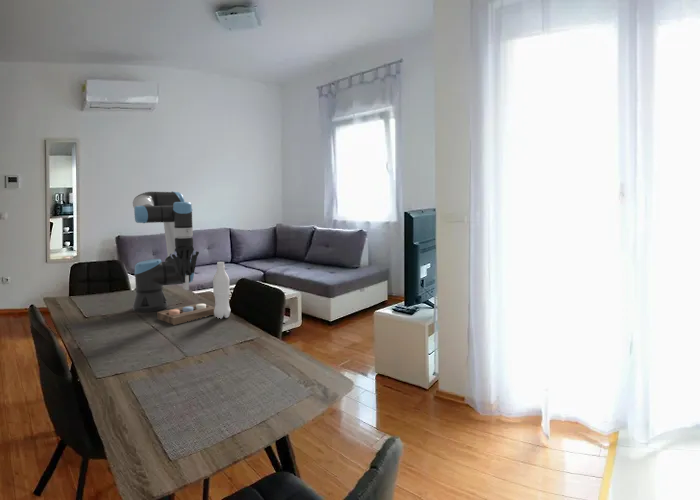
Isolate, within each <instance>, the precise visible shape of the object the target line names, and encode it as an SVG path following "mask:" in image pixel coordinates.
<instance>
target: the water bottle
mask: <svg viewBox="0 0 700 500" xmlns="http://www.w3.org/2000/svg"><path fill="white" fill-rule="evenodd" d="M216 264H217V265H216V272H215V274H214V276H213V278H212V282H213V283H212V286H213V287H212V288H213V291H212V294H213V296H214V307H215V309H214V315H213V316H214V318H216V317H217V318H216V319H219V318H220V319H219V320H222V319H223V318H225V319H228V318H229V317H230V315H231V307H230V301H229V299H230V294H231V290H230V289H231V287H230V281H231V280H230V277H229V275H228V273H227V272H226V266H225V261H217V263H216Z"/></svg>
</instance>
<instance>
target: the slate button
mask: <svg viewBox="0 0 700 500" xmlns="http://www.w3.org/2000/svg"><path fill="white" fill-rule="evenodd" d="M188 306H189V305H188ZM182 307H183V312H190V311H193V307H191V306H189V307H184V306H182Z"/></svg>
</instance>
